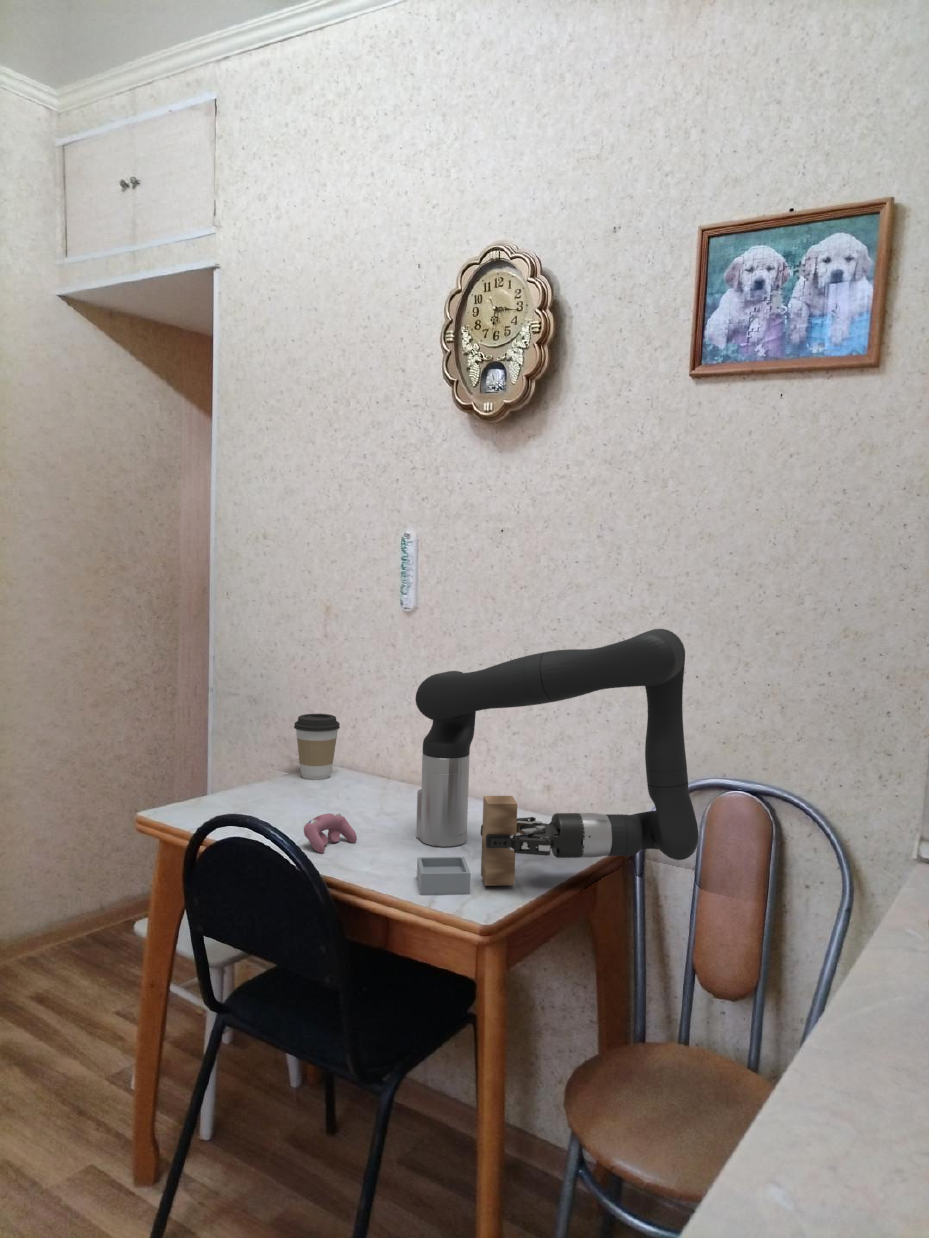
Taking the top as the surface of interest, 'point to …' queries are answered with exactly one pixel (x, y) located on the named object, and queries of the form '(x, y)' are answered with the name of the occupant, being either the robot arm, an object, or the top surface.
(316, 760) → the coffee cup
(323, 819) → the video game controller
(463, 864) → the grey open box
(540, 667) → the robot arm
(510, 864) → the walnut pillar
